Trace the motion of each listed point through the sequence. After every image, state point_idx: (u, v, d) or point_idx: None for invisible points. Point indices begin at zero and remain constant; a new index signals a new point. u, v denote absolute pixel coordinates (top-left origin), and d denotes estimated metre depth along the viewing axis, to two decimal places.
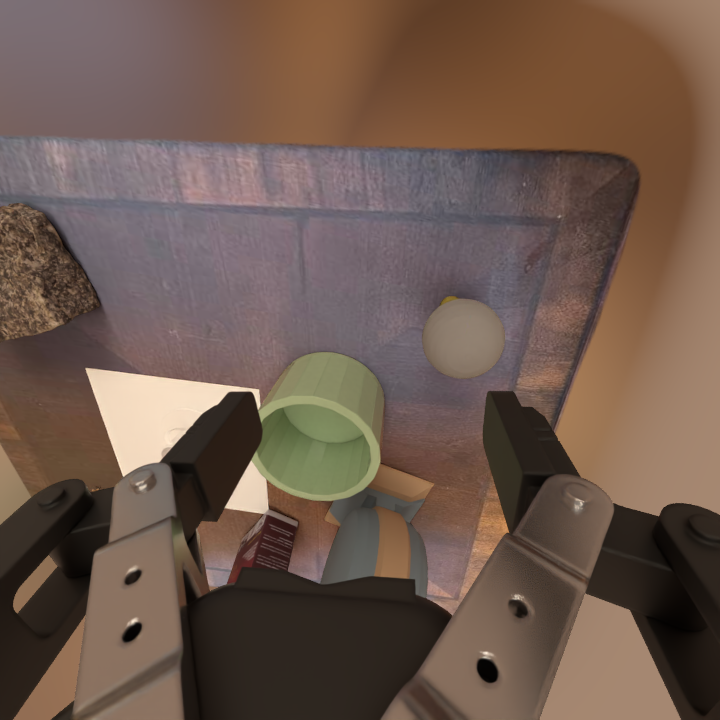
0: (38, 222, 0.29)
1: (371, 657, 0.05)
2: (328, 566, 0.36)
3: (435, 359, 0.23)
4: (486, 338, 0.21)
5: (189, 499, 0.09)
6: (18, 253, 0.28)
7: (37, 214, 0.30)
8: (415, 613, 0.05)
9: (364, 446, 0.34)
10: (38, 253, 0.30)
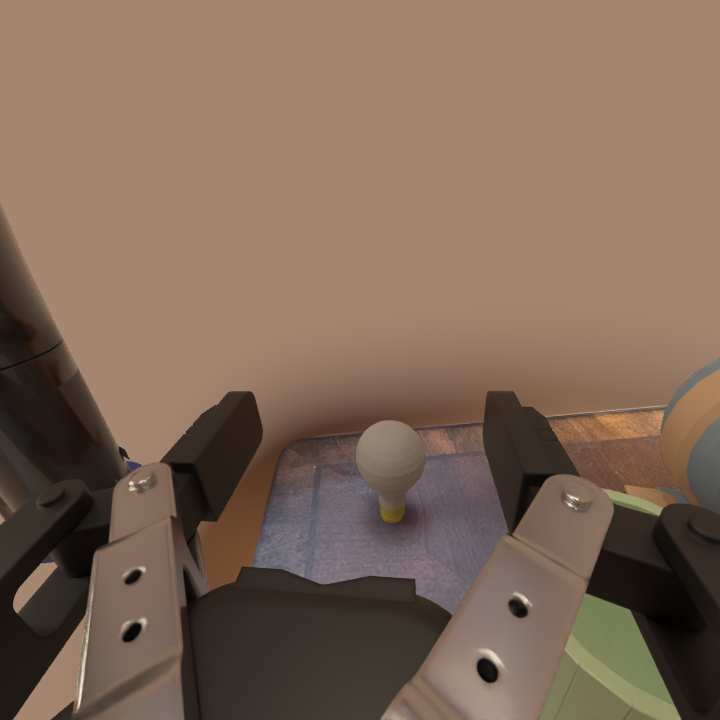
0: None
1: (371, 657, 0.05)
2: None
3: (403, 453, 0.25)
4: (373, 426, 0.27)
5: (189, 499, 0.09)
6: None
7: None
8: (415, 613, 0.05)
9: None
10: None
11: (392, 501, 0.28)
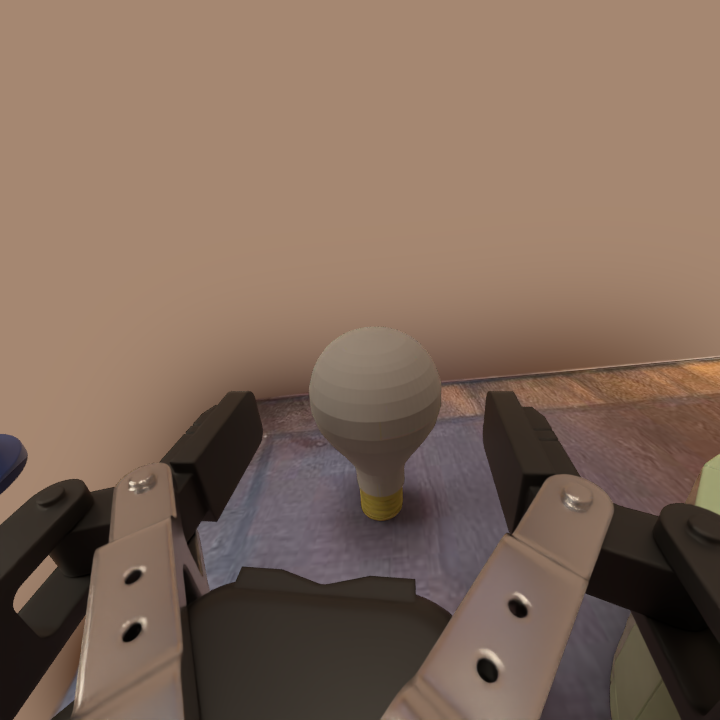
0: None
1: (371, 657, 0.05)
2: None
3: (398, 374, 0.12)
4: (342, 335, 0.14)
5: (189, 499, 0.09)
6: None
7: None
8: (415, 613, 0.05)
9: None
10: None
11: (379, 479, 0.15)
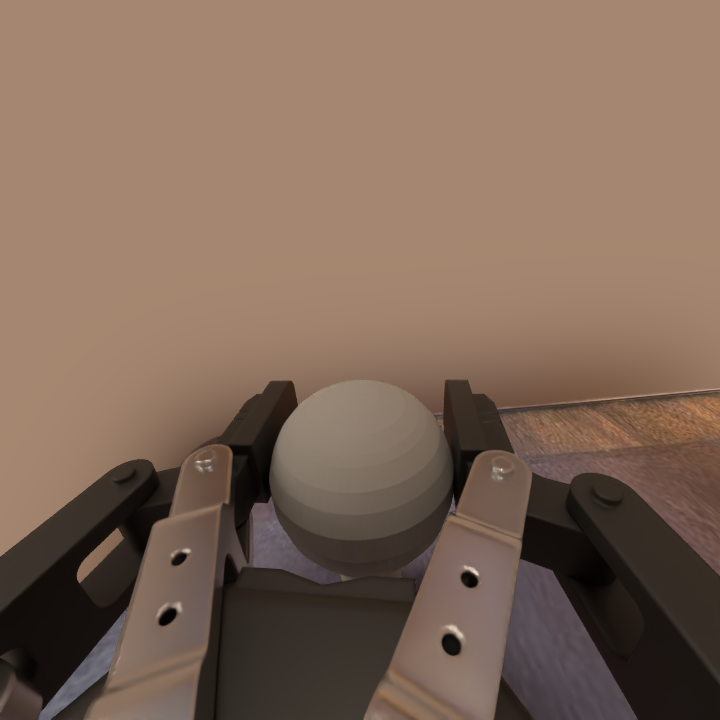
0: None
1: (371, 657, 0.05)
2: None
3: (393, 467, 0.08)
4: (317, 392, 0.10)
5: (246, 480, 0.09)
6: None
7: None
8: None
9: None
10: None
11: None
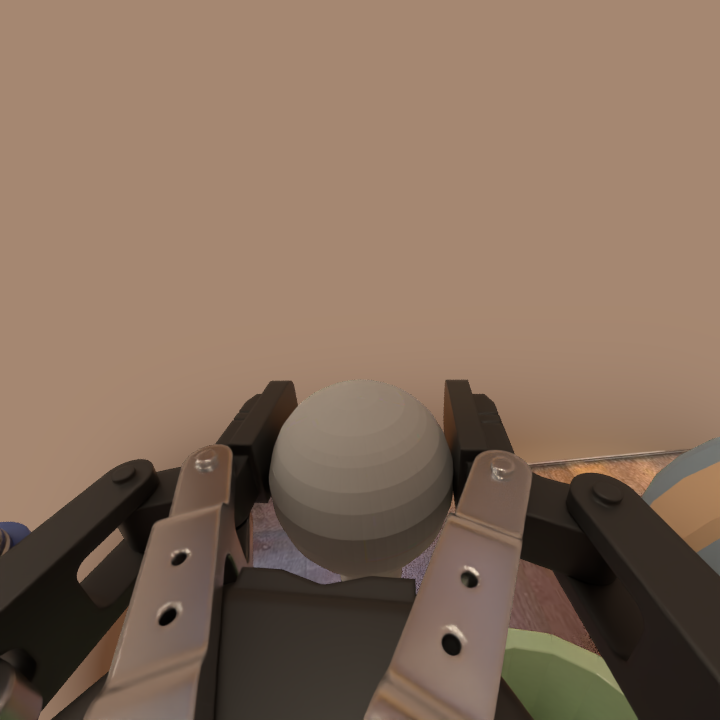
0: None
1: (371, 657, 0.05)
2: None
3: (393, 467, 0.08)
4: (317, 392, 0.10)
5: (246, 479, 0.09)
6: None
7: None
8: None
9: (564, 716, 0.17)
10: None
11: None
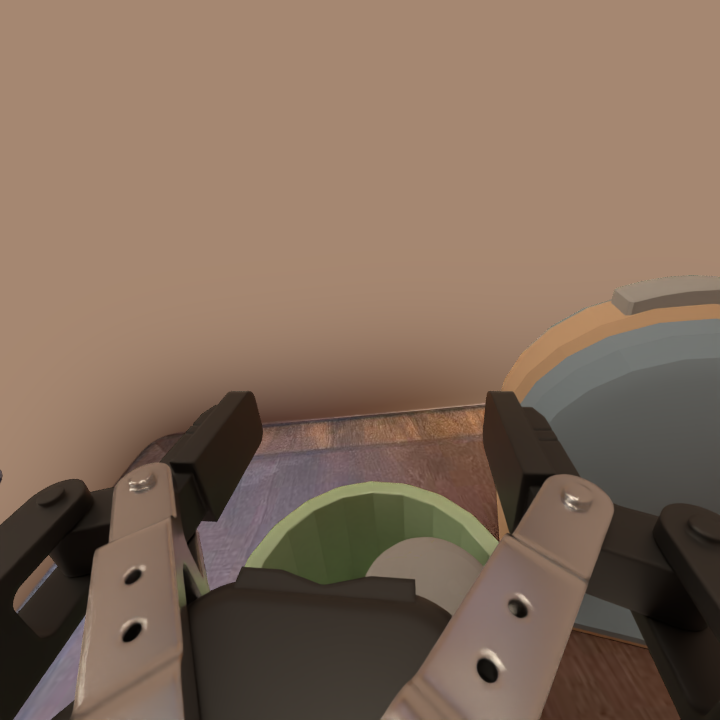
0: None
1: (371, 657, 0.05)
2: None
3: None
4: (411, 561, 0.12)
5: (189, 499, 0.09)
6: None
7: None
8: (415, 613, 0.05)
9: None
10: None
11: None
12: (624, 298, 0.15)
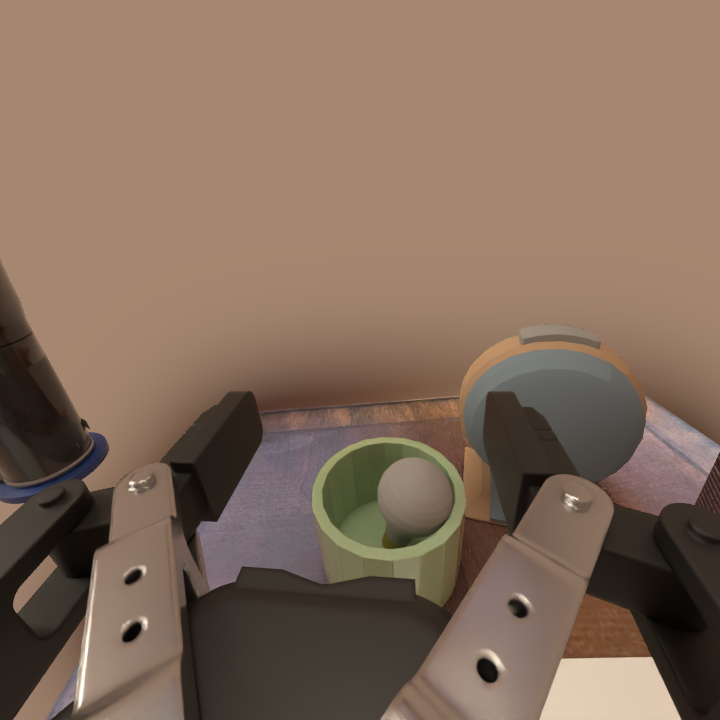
0: None
1: (371, 657, 0.05)
2: (578, 458, 0.27)
3: (437, 505, 0.23)
4: (405, 463, 0.25)
5: (189, 499, 0.09)
6: None
7: None
8: (415, 613, 0.05)
9: None
10: None
11: (403, 538, 0.27)
12: (521, 335, 0.28)
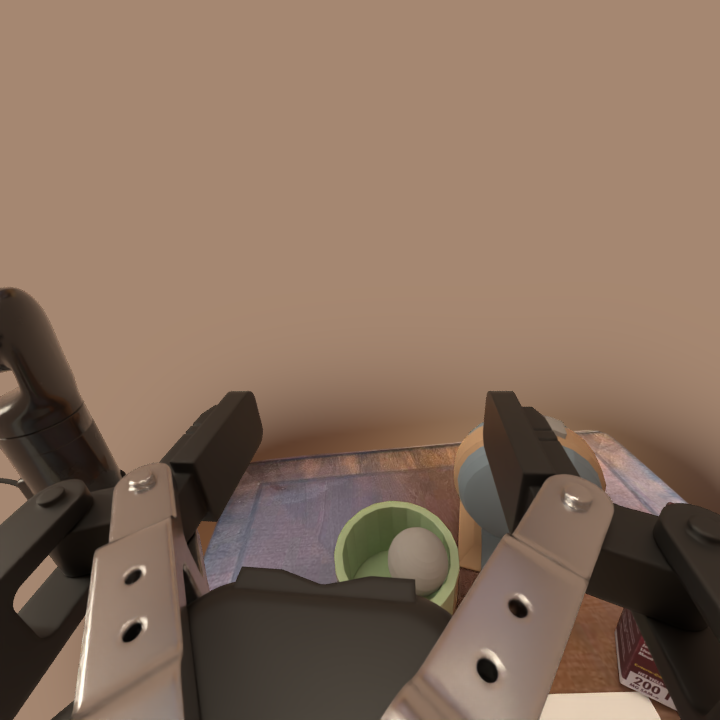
0: None
1: (371, 657, 0.05)
2: None
3: (436, 573, 0.29)
4: (410, 535, 0.31)
5: (189, 499, 0.09)
6: None
7: None
8: (415, 613, 0.05)
9: None
10: None
11: None
12: None
